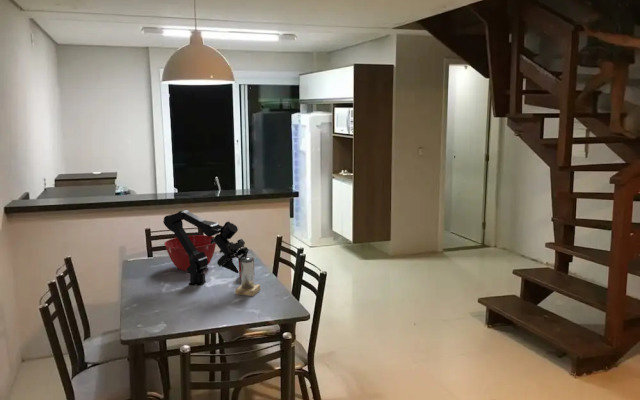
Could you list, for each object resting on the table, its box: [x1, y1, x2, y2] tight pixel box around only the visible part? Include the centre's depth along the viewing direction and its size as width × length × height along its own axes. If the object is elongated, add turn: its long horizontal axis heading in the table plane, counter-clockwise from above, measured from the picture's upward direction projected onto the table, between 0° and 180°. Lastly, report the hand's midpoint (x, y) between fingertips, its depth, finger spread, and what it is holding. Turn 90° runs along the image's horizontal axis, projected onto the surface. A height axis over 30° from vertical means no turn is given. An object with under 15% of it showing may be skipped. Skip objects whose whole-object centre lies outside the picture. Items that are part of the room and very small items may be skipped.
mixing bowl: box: [164, 234, 217, 272], centre depth 287 cm, size 28×28×16 cm
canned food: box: [238, 254, 255, 279], centre depth 271 cm, size 8×8×11 cm
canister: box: [240, 257, 255, 289], centre depth 247 cm, size 6×6×14 cm
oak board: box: [235, 283, 261, 297], centre depth 248 cm, size 9×9×2 cm
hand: (243, 270), depth 247 cm, fingers open, 9 cm apart
